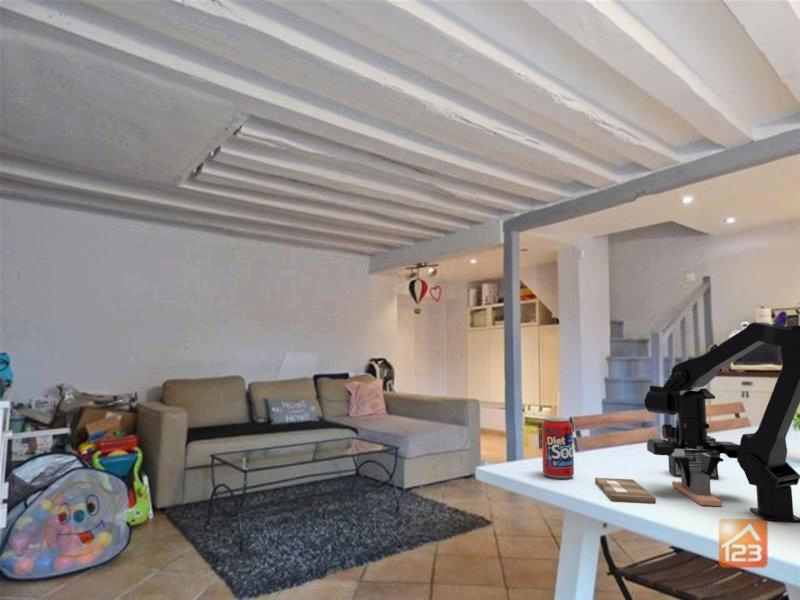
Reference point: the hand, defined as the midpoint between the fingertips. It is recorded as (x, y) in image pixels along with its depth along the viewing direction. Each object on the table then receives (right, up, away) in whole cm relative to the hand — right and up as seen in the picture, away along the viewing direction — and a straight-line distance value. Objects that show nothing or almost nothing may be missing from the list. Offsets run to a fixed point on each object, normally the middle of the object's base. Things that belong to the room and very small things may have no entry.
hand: (695, 486), depth 114 cm
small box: (+11, -4, +19) cm, 22 cm away
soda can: (-26, -4, +17) cm, 31 cm away
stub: (0, -2, 0) cm, 2 cm away
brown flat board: (-16, -2, +2) cm, 16 cm away
